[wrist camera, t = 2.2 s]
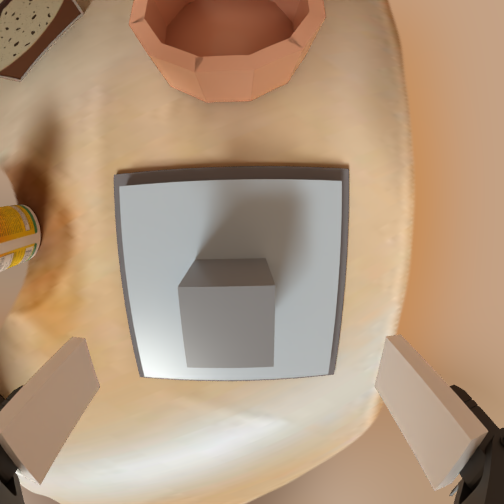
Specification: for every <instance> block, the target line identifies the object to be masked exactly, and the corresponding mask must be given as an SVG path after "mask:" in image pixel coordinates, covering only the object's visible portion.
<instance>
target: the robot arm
mask: <svg viewBox="0 0 504 504" xmlns="http://www.w3.org/2000/svg"><path fill="white" fill-rule="evenodd" d="M99 388H100V385H99V382H98V379H97V376H96V373H95V370H94V367H93V364H92V360H91V357H90V354H89V350H88V347H87V343H86V339H85V338H77V337H72V338H71V339H70V340H68V341H67V342H66V343H65V344H64V345H63V346H62V347H61V348H60V349H59V350H58V351H57V352H56V353H55V354H54V355H53V356H52V357H51V358H50V359H49V360H48V361H47V362H46V363H45V364H44V365H43V366H42V367H41V368H40V369H39V370H38V371H37V372H36V373H35V374H34V375H33V376H32V378H31V379H30V380H29V381H28V382H27V383H26V384H25V385H24V386H21V387H19V388H18V389H16V390H14V391H13V392H12V393H11V394H10V395H9V396H8V397H7V398H6V399H7V400H4V399H3V398H2V397H1V396H0V504H24V500H23V496H22V492H21V487H20V482H19V478H18V476H17V474H16V473H15V472H16V470H17V469H19V470H20V472H21V473H22V474H23V475H24V476H25V478H27V479H29V480H31V481H33V482H35V483H37V484H39V485H41V483H42V481H43V479H44V478H45V476H46V474H47V472H48V471H49V469H50V467H51V465H52V464H53V462H54V460H55V458H56V457H57V455H58V453H59V452H60V450H61V448H62V447H63V445H64V443H65V442H66V440H67V438H68V437H69V435H70V433H71V432H72V430H73V429H74V427H75V425H76V424H77V422H78V420H79V419H80V417H81V416H82V414H83V413H84V411H85V409H86V408H87V406H88V405H89V403H90V402H91V400H92V398H93V397H94V395H95V394H96V392H97V391H98V389H99ZM375 388H376V389H377V391H378V393H379V394H380V396H381V398H382V399H383V401H384V403H385V404H386V406H387V408H388V410H389V411H390V413H391V414H392V416H393V418H394V420H395V421H396V423H397V425H398V426H399V428H400V430H401V432H402V434H403V435H404V437H405V439H406V440H407V442H408V444H409V446H410V447H411V449H412V451H413V453H414V455H415V456H416V458H417V460H418V462H419V464H420V465H421V467H422V469H423V471H424V473H425V474H426V476H427V478H428V480H429V482H430V484H431V485H432V487H433V489H434V491H436V490H437V489H440V488H442V487H444V486H446V485H448V484H451V483H452V482H453V480H454V479H455V478H456V477H457V476H458V474H459V473H460V475H461V477H462V480H461V481H460V482H459V483H458V485H457V486H456V487H455V488H454V489H453V490H452V492H451V494H450V496H452V495H453V494H454V493H455V492H456V491H457V494H456V497H455V501H454V504H504V428H501V429H499V428H498V427H497V426H496V425H495V424H494V423H493V421H492V420H491V419H490V418H489V417H488V416H487V415H486V414H485V412H484V411H483V410H482V409H481V408H480V407H479V406H477V404H476V402H475V401H474V400H472V398H471V397H470V396H469V395H468V394H467V393H466V392H465V391H464V390H462V389H461V388H459V387H457V386H455V385H452V386H449V385H448V384H447V383H446V382H445V381H444V380H443V379H442V378H441V377H440V376H439V375H438V373H437V372H436V371H435V370H434V369H433V368H432V367H431V366H430V365H429V364H428V363H427V362H426V361H425V359H423V357H422V356H421V355H420V354H419V353H418V352H417V351H416V350H415V349H414V348H413V347H412V346H411V345H410V344H409V343H408V342H407V341H406V340H405V339H404V338H403V337H402V335H394V336H387V337H386V339H385V344H384V349H383V353H382V358H381V362H380V366H379V371H378V375H377V379H376V383H375Z"/></svg>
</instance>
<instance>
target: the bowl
mask: <svg viewBox="0 0 504 504" xmlns="http://www.w3.org/2000/svg"><path fill="white" fill-rule="evenodd" d="M325 18H326V15H325V9H324V3H323V0H134V2H133V6H132V11H131V16H130V21H129V26H130V27H131V29H132V31H133V32H134V34H135V35H136V37H137V38H138V40H139V41H140V43H141V44H142V46H143V48H144V49H145V51H146V52H147V54H148V55H149V57H150V58H151V59H152V61H153V62H154V64H155V65H156V66H157V68H158V69H159V71H160V72H161V73H162V75H163V76H164V78H165V79H166V80H167V82H168V83H169V85H170V86H171V87H173V88H175V89H178V90H180V91H182V92H184V93H187V94H189V95H191V96H194V97H196V98H198V99H200V100H202V101H205V102H207V103H208V102H231V101H252V100H254V99H256V98H258V97H260V96H262V95H264V94H266V93H268V92H270V91H272V90H274V89H276V88H278V87H280V86H282V85H285V84H287V83H288V82H289V80H290V78H291V77H292V75H293V74H294V72H295V71H296V69H297V68H298V66H299V65H300V63H301V62H302V60H303V59H304V57H305V56H306V54H307V52H308V50H309V48H310V46H311V44H312V42H313V41H314V39H315V37H316V35H317V33H318V31H319V29H320V27H321V25H322V23H323V22H324V20H325Z"/></svg>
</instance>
